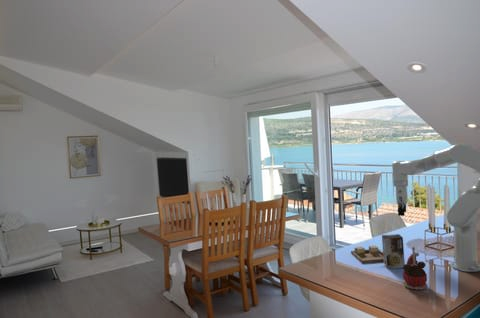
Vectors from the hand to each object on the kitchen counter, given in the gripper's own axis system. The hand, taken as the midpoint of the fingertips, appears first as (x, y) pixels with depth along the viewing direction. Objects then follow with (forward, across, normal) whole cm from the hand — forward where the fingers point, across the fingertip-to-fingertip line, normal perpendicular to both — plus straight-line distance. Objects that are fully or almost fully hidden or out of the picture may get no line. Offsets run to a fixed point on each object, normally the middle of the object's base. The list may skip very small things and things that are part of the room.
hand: (402, 213), depth 203 cm
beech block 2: (+23, -3, +16) cm, 28 cm away
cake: (+24, -42, -8) cm, 49 cm away
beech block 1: (+23, -7, +23) cm, 33 cm away
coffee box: (+24, -18, +3) cm, 30 cm away
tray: (+24, -9, +17) cm, 31 cm away
